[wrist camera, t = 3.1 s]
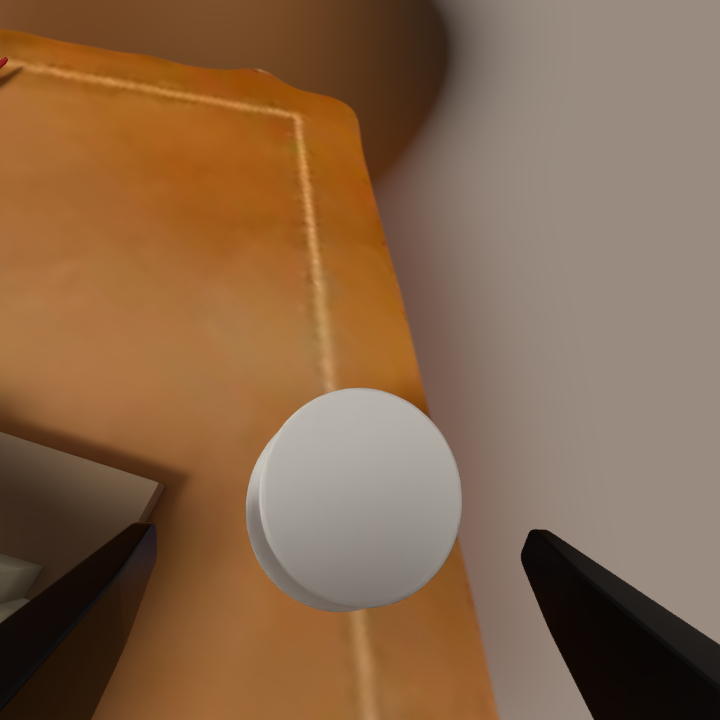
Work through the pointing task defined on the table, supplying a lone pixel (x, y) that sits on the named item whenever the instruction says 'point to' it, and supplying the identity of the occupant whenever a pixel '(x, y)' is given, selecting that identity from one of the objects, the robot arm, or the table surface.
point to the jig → (58, 514)
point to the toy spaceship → (3, 62)
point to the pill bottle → (354, 501)
